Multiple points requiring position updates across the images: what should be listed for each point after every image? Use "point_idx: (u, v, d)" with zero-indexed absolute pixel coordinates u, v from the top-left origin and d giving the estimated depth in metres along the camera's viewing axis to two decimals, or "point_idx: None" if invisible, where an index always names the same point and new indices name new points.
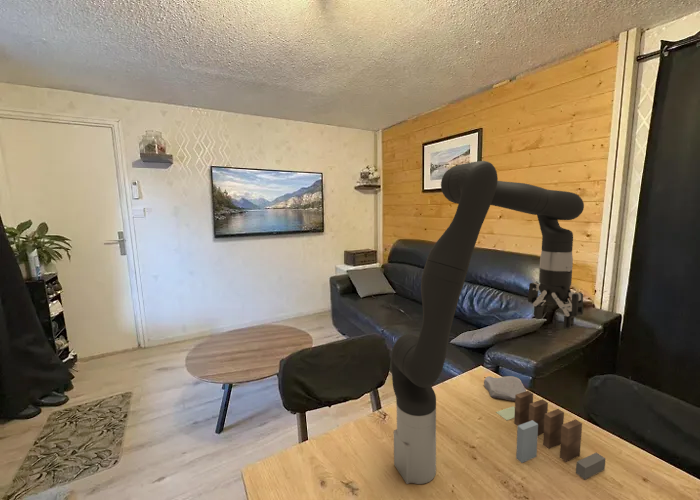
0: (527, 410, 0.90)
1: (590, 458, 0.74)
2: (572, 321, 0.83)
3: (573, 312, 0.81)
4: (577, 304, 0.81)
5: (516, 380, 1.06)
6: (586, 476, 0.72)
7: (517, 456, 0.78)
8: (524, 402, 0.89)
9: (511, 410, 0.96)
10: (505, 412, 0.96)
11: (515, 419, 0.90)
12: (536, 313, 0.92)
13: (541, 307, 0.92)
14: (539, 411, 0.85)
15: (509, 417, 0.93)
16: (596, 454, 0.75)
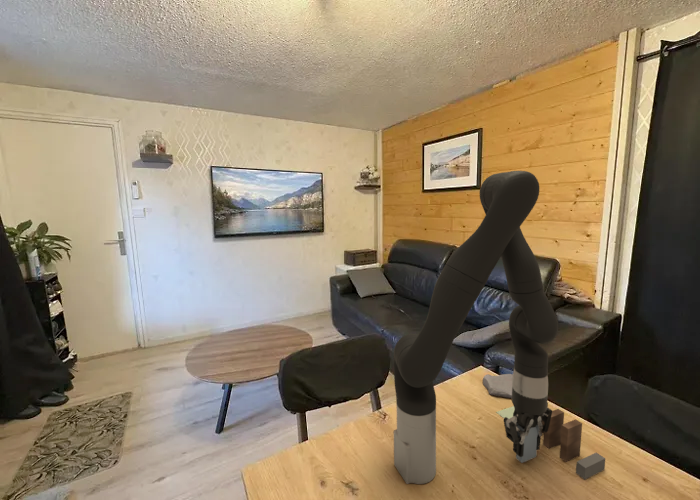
0: None
1: (590, 458, 0.74)
2: None
3: (546, 429, 0.78)
4: None
5: None
6: (586, 476, 0.72)
7: (517, 456, 0.78)
8: None
9: (511, 410, 0.96)
10: (505, 412, 0.96)
11: None
12: (522, 451, 0.76)
13: None
14: None
15: (509, 417, 0.93)
16: (596, 454, 0.75)
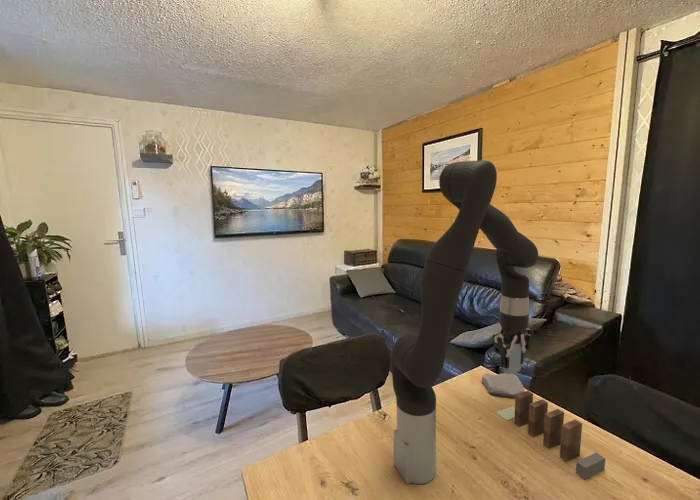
0: (527, 410, 0.90)
1: (590, 458, 0.74)
2: None
3: (528, 346, 0.93)
4: None
5: (513, 377, 1.08)
6: (586, 476, 0.72)
7: (504, 369, 0.93)
8: (524, 402, 0.89)
9: (511, 410, 0.96)
10: (505, 412, 0.96)
11: (515, 419, 0.90)
12: (508, 363, 0.91)
13: None
14: (539, 411, 0.85)
15: (509, 417, 0.93)
16: (596, 454, 0.75)
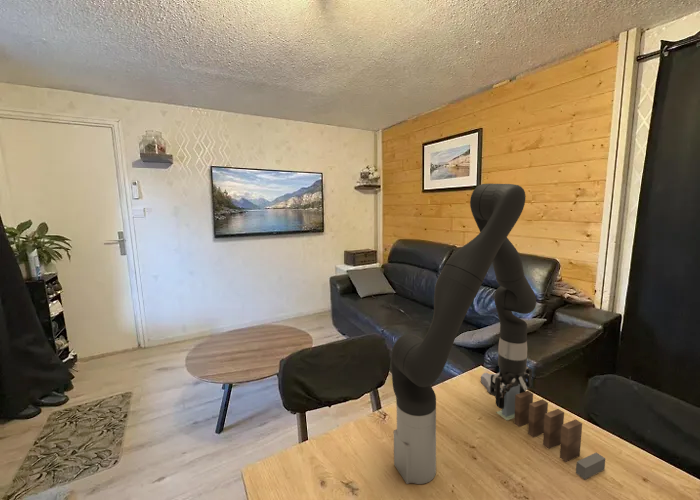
0: (527, 410, 0.90)
1: (590, 458, 0.74)
2: None
3: (530, 384, 0.95)
4: None
5: None
6: (586, 476, 0.72)
7: (502, 411, 0.95)
8: (524, 402, 0.89)
9: None
10: None
11: (515, 419, 0.90)
12: (503, 404, 0.92)
13: None
14: (539, 411, 0.85)
15: (509, 417, 0.93)
16: (596, 454, 0.75)
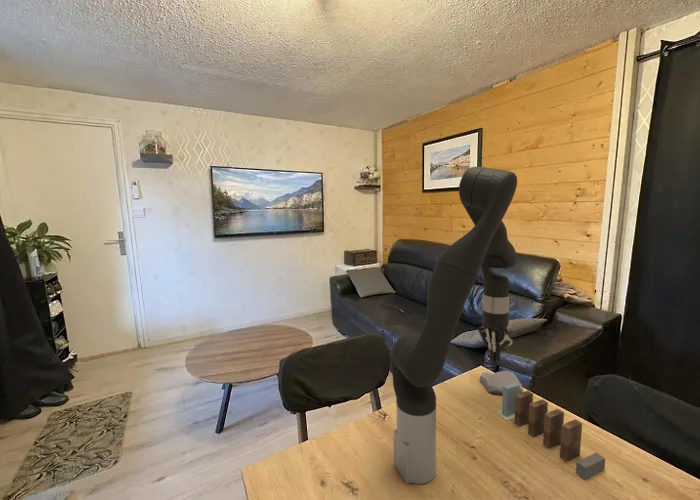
0: (527, 410, 0.90)
1: (590, 458, 0.74)
2: None
3: None
4: None
5: (511, 375, 1.09)
6: (586, 476, 0.72)
7: (502, 411, 0.95)
8: (524, 402, 0.89)
9: None
10: None
11: (515, 419, 0.90)
12: None
13: None
14: (539, 411, 0.85)
15: (509, 417, 0.93)
16: (596, 454, 0.75)
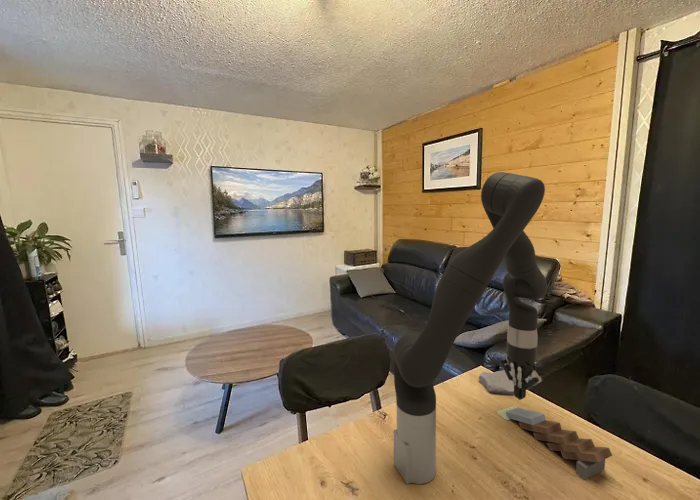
0: None
1: None
2: None
3: None
4: None
5: None
6: (586, 476, 0.72)
7: (508, 413, 0.93)
8: None
9: None
10: (505, 412, 0.96)
11: (523, 424, 0.88)
12: None
13: None
14: None
15: None
16: None
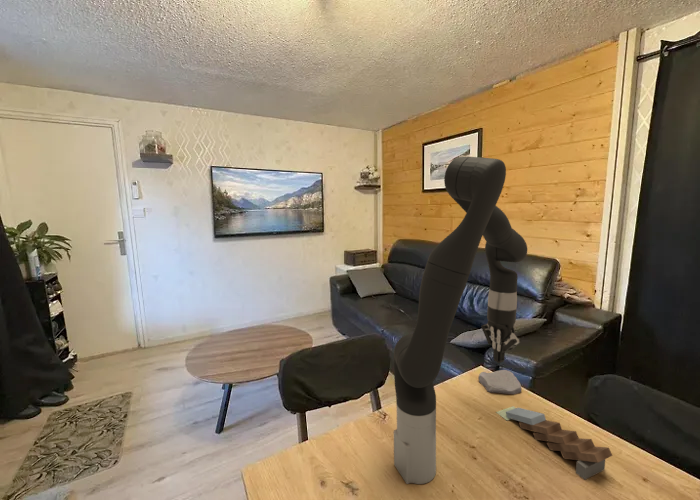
0: None
1: None
2: None
3: None
4: None
5: (509, 373, 1.10)
6: (586, 476, 0.72)
7: (508, 413, 0.93)
8: None
9: None
10: (505, 412, 0.96)
11: (523, 424, 0.88)
12: None
13: None
14: None
15: None
16: None
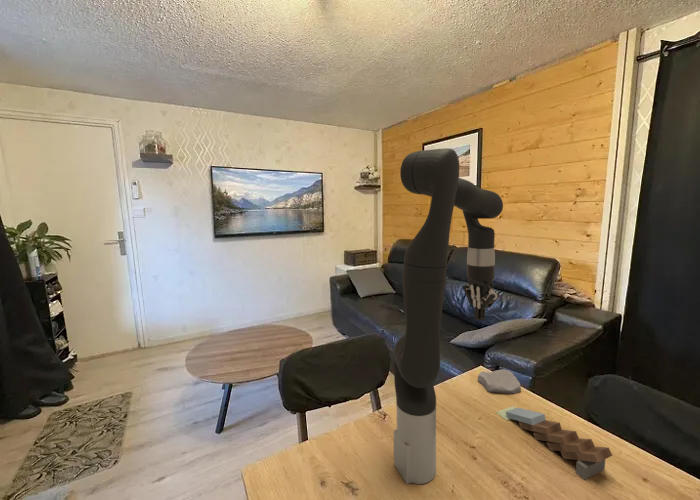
0: None
1: None
2: None
3: None
4: None
5: (508, 373, 1.10)
6: (586, 476, 0.72)
7: (508, 413, 0.93)
8: None
9: None
10: (505, 412, 0.96)
11: (523, 424, 0.88)
12: None
13: None
14: None
15: None
16: None
